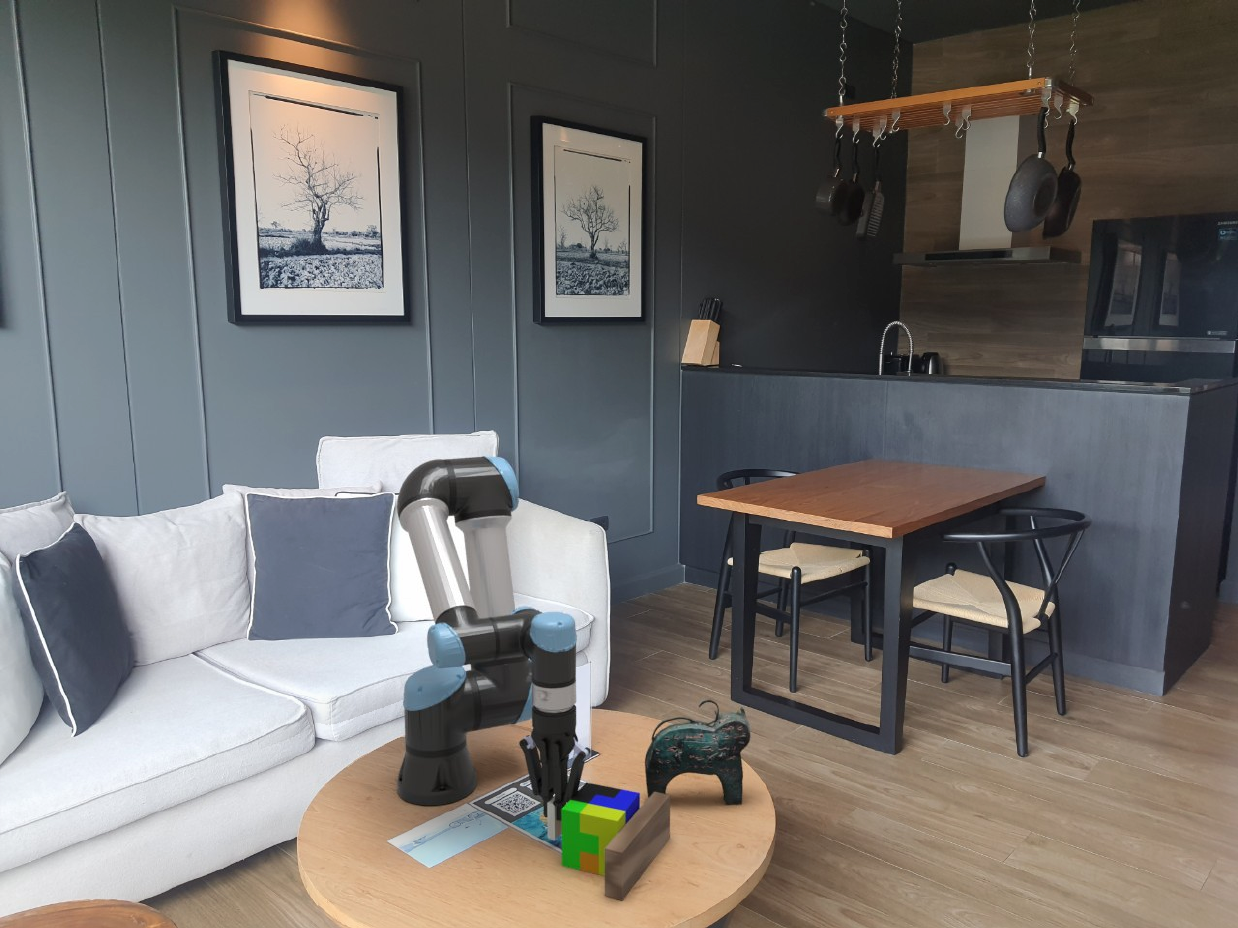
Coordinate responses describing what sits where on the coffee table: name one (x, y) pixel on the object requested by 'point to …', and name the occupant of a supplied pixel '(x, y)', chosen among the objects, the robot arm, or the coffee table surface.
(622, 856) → the walnut board
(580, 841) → the puzzle toy
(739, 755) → the ceramic cat
